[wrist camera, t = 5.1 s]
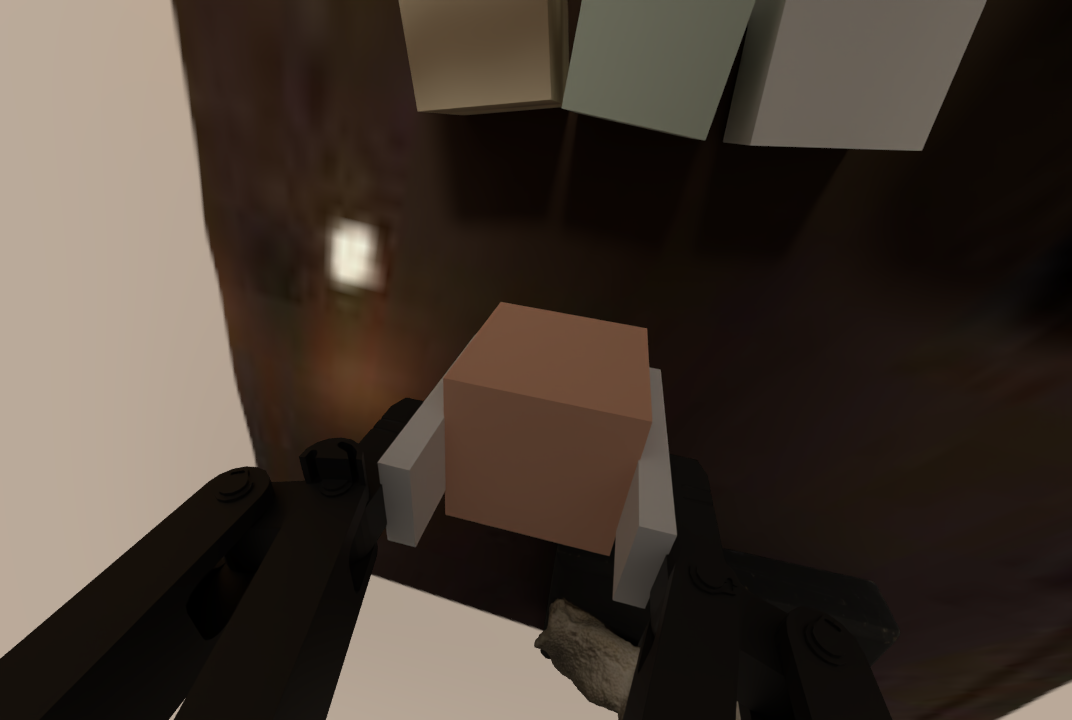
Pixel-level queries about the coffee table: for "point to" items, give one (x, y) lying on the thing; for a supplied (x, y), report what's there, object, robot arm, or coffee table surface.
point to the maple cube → (487, 54)
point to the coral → (616, 628)
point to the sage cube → (655, 61)
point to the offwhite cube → (847, 72)
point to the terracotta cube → (547, 425)
